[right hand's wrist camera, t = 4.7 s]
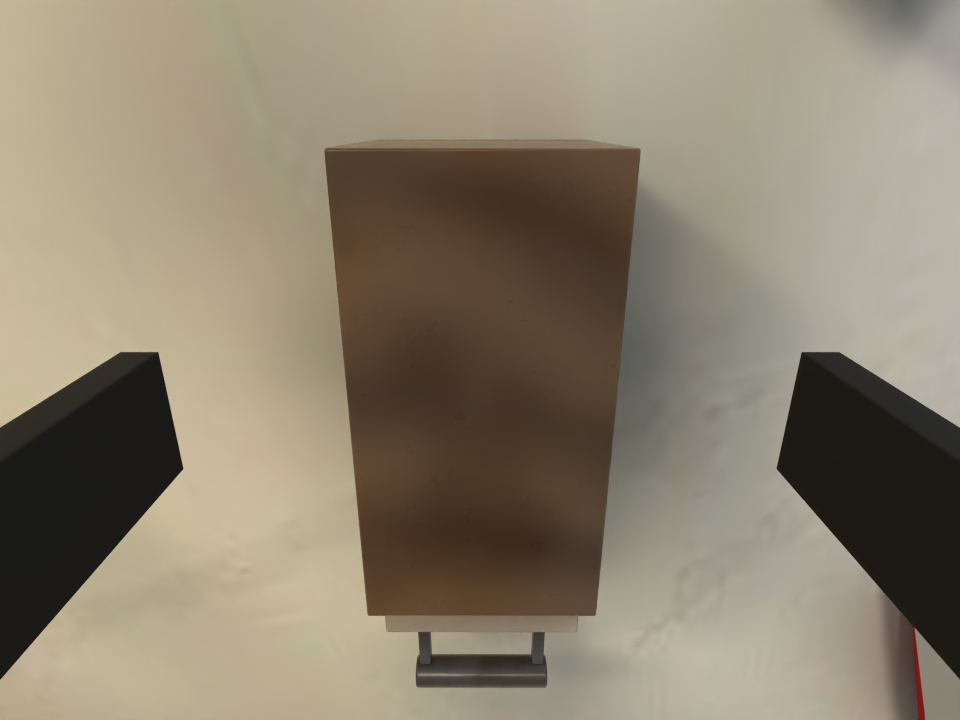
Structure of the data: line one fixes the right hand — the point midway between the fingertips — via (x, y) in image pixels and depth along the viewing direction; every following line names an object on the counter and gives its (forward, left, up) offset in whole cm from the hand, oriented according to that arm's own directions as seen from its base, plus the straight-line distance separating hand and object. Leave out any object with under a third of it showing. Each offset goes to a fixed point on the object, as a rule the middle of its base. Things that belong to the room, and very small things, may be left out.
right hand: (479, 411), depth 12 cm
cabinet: (+3, -4, -20) cm, 20 cm away
